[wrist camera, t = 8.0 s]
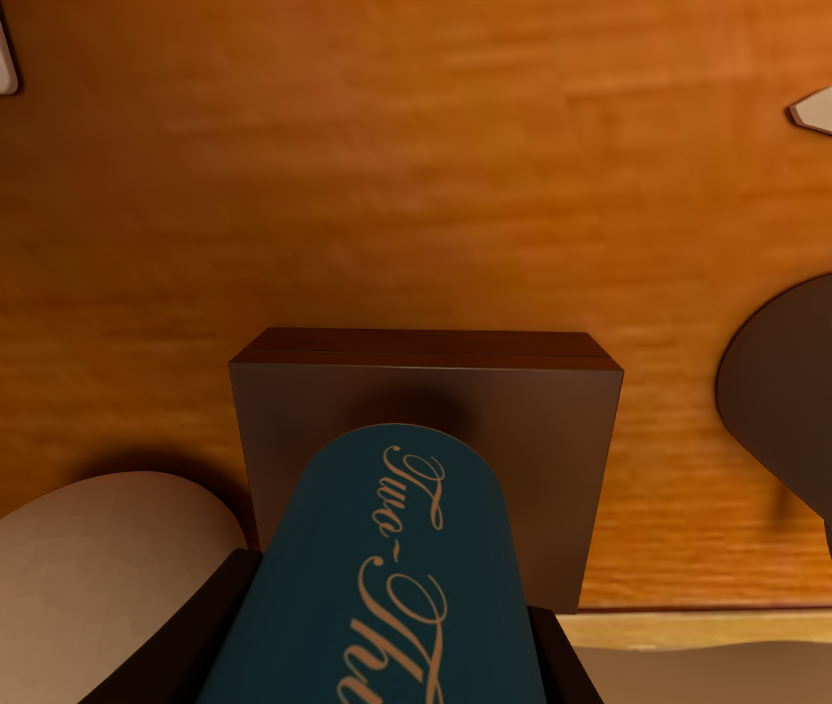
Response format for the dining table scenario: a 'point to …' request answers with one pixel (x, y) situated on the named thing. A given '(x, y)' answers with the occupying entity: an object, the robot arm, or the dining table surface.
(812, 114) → the key
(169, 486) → the decorative egg
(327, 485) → the beverage can
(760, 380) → the mug
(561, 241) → the dining table surface
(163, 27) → the dining table surface
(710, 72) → the dining table surface
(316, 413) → the shelf
